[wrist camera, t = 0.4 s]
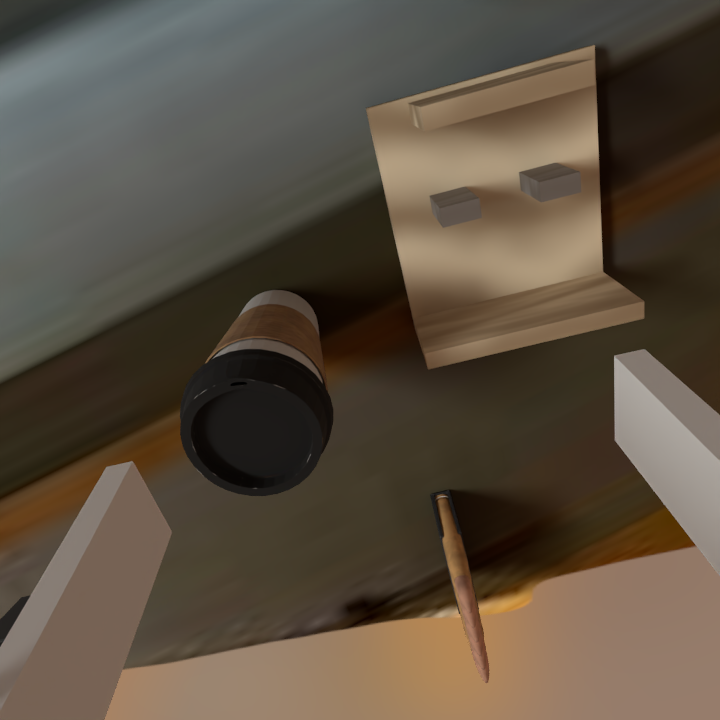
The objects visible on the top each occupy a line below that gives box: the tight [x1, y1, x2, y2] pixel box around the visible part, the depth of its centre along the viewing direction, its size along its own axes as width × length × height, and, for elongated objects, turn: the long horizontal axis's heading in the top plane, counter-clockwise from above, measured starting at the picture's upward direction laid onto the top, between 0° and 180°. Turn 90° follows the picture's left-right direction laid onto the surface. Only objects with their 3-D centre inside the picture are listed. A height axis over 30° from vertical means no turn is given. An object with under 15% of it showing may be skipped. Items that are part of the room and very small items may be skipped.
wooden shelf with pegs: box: [366, 45, 644, 369], centre depth 34 cm, size 16×14×7 cm
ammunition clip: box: [430, 490, 489, 683], centre depth 46 cm, size 11×2×12 cm, turn 14°
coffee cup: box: [180, 290, 333, 496], centre depth 34 cm, size 8×8×15 cm
